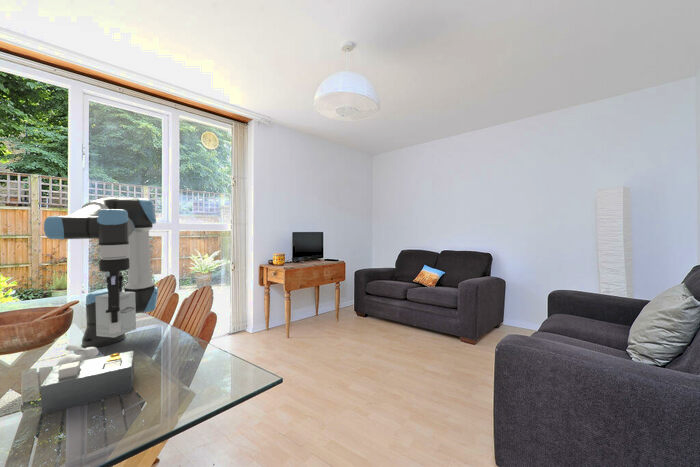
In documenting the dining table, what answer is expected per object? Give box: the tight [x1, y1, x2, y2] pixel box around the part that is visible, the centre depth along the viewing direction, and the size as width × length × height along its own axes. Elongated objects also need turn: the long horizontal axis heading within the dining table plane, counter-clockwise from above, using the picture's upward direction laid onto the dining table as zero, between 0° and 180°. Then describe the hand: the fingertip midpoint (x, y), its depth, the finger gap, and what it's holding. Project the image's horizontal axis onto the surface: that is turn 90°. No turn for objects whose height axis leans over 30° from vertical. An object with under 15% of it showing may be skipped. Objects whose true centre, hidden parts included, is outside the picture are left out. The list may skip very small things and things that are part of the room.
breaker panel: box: [40, 350, 135, 416], centre depth 92 cm, size 14×20×9 cm
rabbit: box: [55, 344, 99, 366], centre depth 100 cm, size 12×9×12 cm
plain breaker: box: [58, 361, 80, 379], centre depth 88 cm, size 4×4×5 cm
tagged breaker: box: [104, 361, 121, 369], centre depth 93 cm, size 4×4×5 cm
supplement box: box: [95, 291, 137, 337], centre depth 94 cm, size 7×7×13 cm
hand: (116, 327), depth 94 cm, fingers closed on supplement box, 10 cm apart
